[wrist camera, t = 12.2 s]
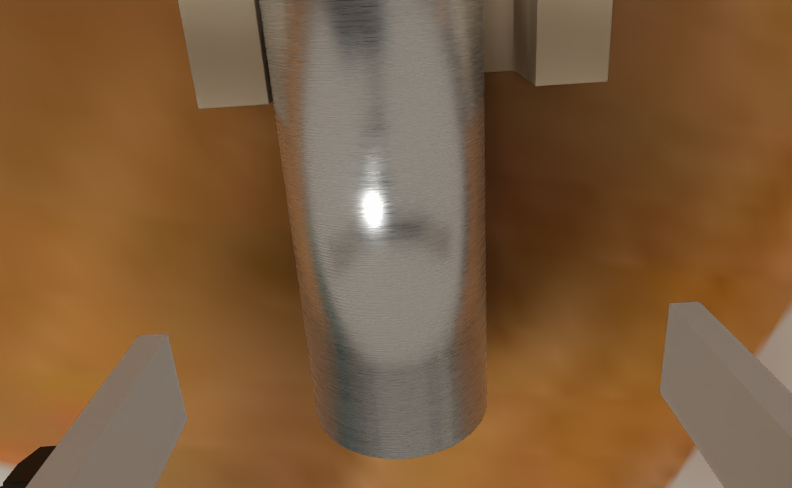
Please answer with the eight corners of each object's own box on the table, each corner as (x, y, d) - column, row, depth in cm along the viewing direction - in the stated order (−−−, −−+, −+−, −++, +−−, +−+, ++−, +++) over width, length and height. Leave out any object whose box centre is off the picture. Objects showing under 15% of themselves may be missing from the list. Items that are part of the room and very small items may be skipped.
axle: (302, -27, 20) (212, -25, 15) (491, -41, 19) (469, -45, 13) (344, 347, 25) (291, 448, 20) (493, 357, 24) (478, 468, 19)
